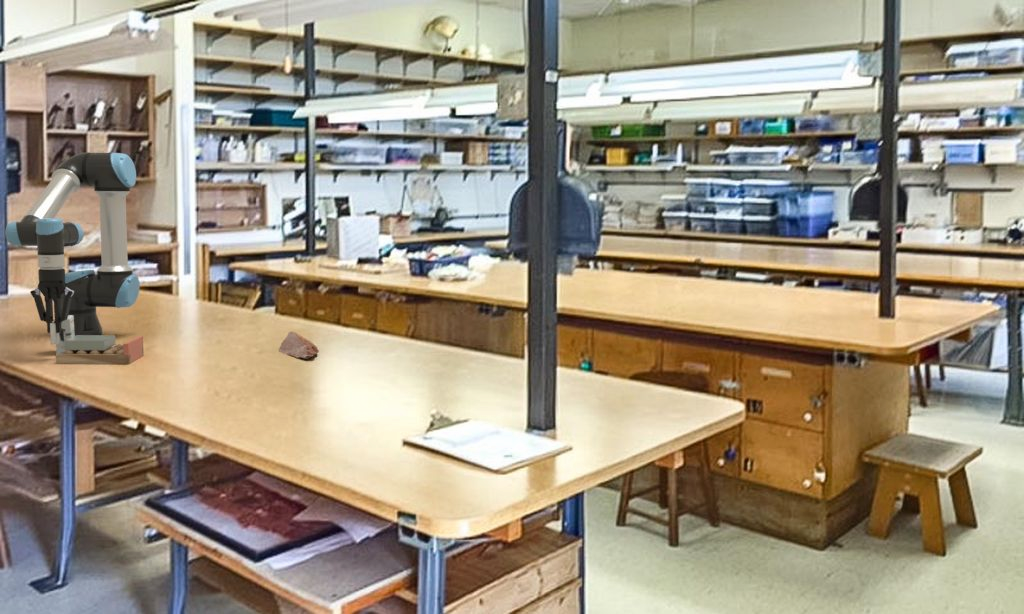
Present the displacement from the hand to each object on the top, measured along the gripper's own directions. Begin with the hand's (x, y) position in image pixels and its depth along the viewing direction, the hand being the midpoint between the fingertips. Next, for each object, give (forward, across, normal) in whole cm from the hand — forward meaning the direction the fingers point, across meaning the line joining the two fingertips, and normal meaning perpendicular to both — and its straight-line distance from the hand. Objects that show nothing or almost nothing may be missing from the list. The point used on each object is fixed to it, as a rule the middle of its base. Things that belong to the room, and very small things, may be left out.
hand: (55, 343), depth 312 cm
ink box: (+5, -1, +11) cm, 12 cm away
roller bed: (+5, +14, 0) cm, 15 cm away
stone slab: (+1, +11, 0) cm, 11 cm away
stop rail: (+5, +24, 0) cm, 25 cm away
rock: (+6, +76, +12) cm, 77 cm away
